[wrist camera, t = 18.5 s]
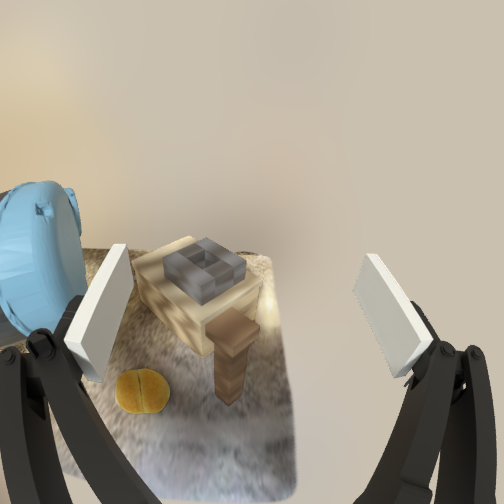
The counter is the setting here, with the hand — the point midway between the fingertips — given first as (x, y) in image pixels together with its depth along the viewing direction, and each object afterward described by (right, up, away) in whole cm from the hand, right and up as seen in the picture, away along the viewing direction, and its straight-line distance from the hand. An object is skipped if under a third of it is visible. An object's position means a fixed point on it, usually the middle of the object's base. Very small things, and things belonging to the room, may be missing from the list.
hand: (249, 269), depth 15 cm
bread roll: (-17, -22, +23) cm, 36 cm away
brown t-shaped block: (-4, -22, +25) cm, 33 cm away
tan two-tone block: (-11, -11, +40) cm, 43 cm away
